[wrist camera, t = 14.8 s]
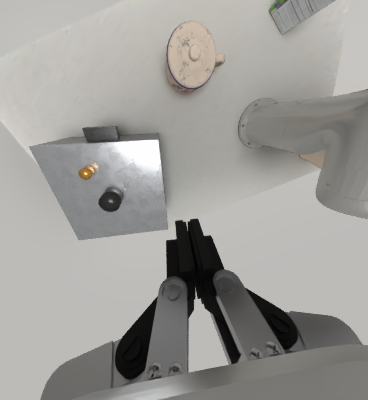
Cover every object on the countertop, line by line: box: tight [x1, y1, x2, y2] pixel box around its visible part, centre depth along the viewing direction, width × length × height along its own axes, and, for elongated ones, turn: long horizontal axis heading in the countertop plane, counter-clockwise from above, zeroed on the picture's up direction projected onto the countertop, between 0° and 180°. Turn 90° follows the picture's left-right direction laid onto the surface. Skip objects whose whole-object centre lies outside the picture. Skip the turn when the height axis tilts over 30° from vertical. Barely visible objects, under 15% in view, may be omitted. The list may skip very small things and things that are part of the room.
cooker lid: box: [29, 139, 168, 240], centre depth 31 cm, size 22×22×4 cm
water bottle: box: [299, 149, 326, 168], centre depth 36 cm, size 10×9×28 cm
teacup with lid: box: [166, 21, 225, 94], centre depth 29 cm, size 12×9×12 cm
